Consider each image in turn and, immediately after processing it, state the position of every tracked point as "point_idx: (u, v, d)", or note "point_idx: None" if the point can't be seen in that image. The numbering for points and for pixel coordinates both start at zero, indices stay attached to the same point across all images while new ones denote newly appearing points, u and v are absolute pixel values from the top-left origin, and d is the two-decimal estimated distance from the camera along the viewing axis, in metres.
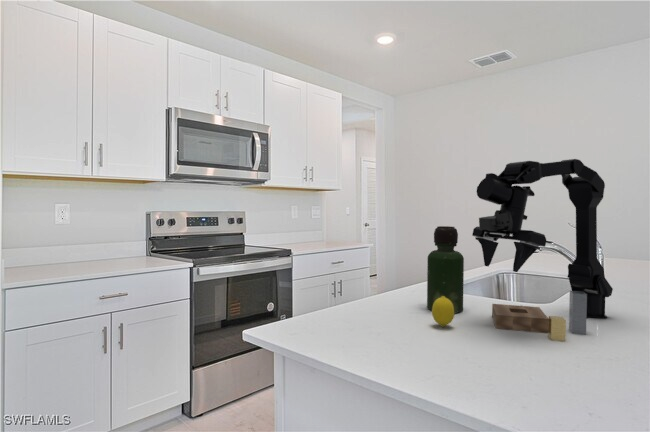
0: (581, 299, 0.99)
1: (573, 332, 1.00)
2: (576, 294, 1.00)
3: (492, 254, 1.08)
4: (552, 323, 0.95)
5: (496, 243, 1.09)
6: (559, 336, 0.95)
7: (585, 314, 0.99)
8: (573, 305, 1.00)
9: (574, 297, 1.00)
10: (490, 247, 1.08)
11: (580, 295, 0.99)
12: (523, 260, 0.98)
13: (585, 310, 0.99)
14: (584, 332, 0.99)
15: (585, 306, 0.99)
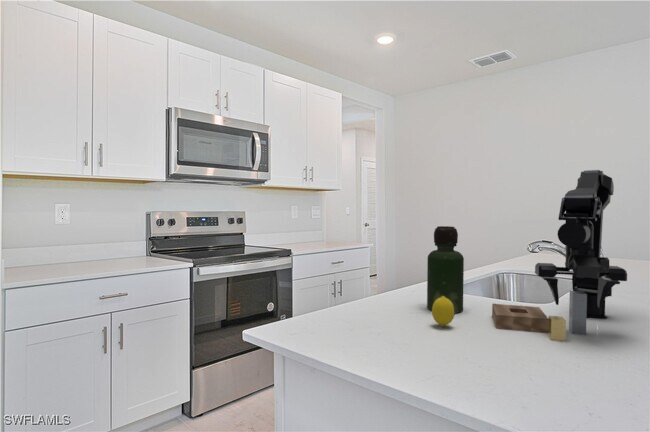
0: (581, 299, 0.99)
1: (573, 332, 1.00)
2: (576, 294, 1.00)
3: None
4: (552, 323, 0.95)
5: None
6: (559, 336, 0.95)
7: (585, 314, 0.99)
8: (573, 305, 1.00)
9: (573, 297, 1.00)
10: None
11: (580, 295, 0.99)
12: None
13: (585, 310, 0.99)
14: (584, 332, 0.99)
15: (585, 306, 0.99)
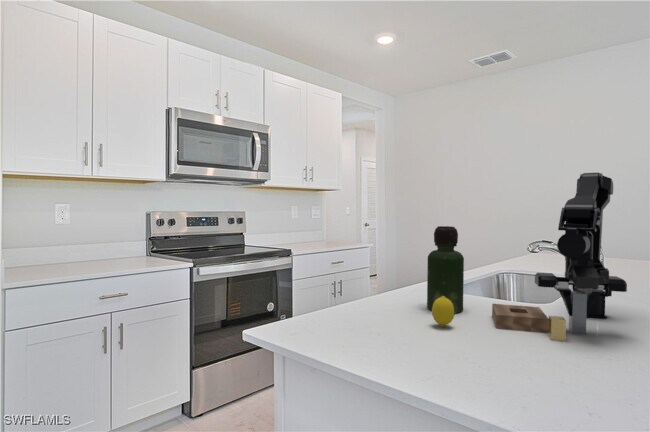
0: (581, 299, 0.99)
1: (573, 332, 1.00)
2: (576, 294, 1.00)
3: None
4: (552, 323, 0.95)
5: None
6: (559, 336, 0.95)
7: (585, 314, 0.99)
8: (573, 305, 1.00)
9: (573, 297, 1.00)
10: None
11: (580, 295, 0.99)
12: None
13: (585, 310, 0.99)
14: (584, 332, 0.99)
15: (585, 306, 0.99)
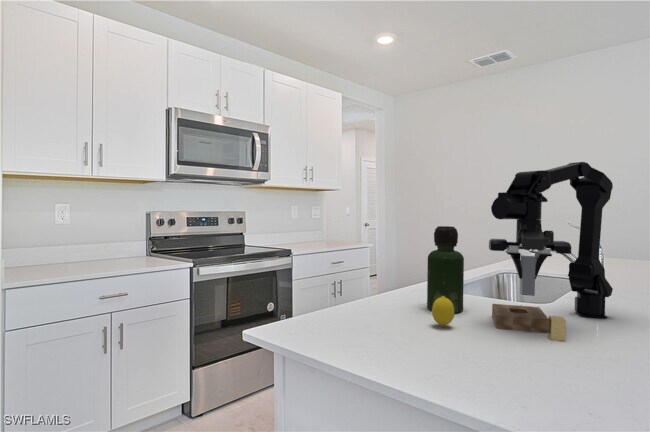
0: (530, 262, 1.04)
1: (523, 294, 1.05)
2: (526, 257, 1.05)
3: None
4: (552, 323, 0.95)
5: None
6: (559, 336, 0.95)
7: (534, 276, 1.04)
8: (523, 268, 1.05)
9: (523, 260, 1.05)
10: None
11: (529, 258, 1.05)
12: None
13: (534, 272, 1.04)
14: (533, 293, 1.04)
15: (534, 268, 1.04)
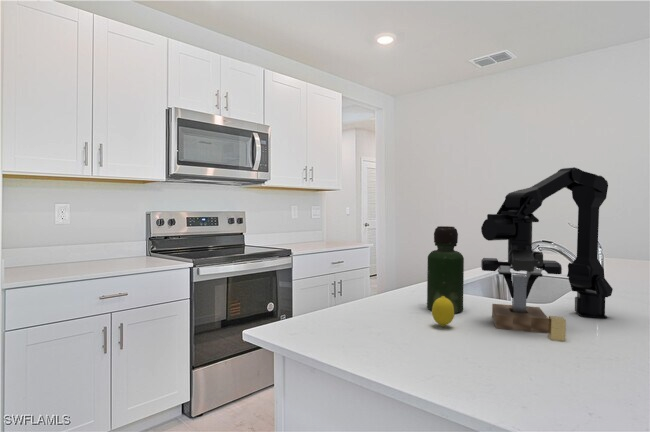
0: (522, 282, 1.06)
1: None
2: (517, 277, 1.06)
3: None
4: (552, 323, 0.95)
5: None
6: (559, 336, 0.95)
7: (525, 296, 1.06)
8: (514, 287, 1.06)
9: (514, 280, 1.06)
10: None
11: (520, 278, 1.06)
12: None
13: (525, 292, 1.06)
14: None
15: (525, 288, 1.06)
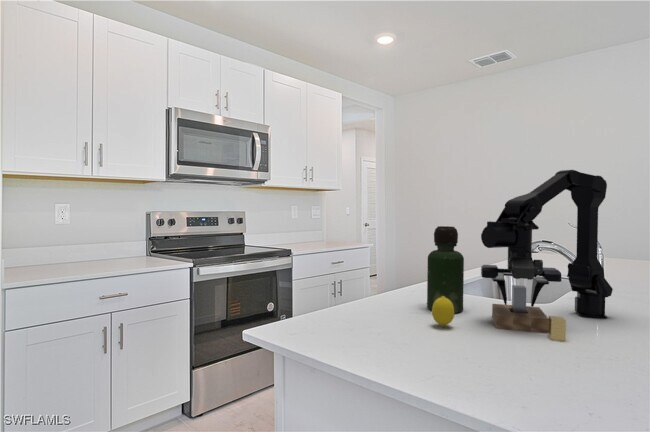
0: (521, 293, 1.06)
1: None
2: (516, 288, 1.06)
3: None
4: (552, 323, 0.95)
5: None
6: (559, 336, 0.95)
7: (525, 307, 1.06)
8: (514, 298, 1.07)
9: (514, 290, 1.06)
10: None
11: (520, 289, 1.06)
12: None
13: (525, 303, 1.06)
14: None
15: (525, 299, 1.06)
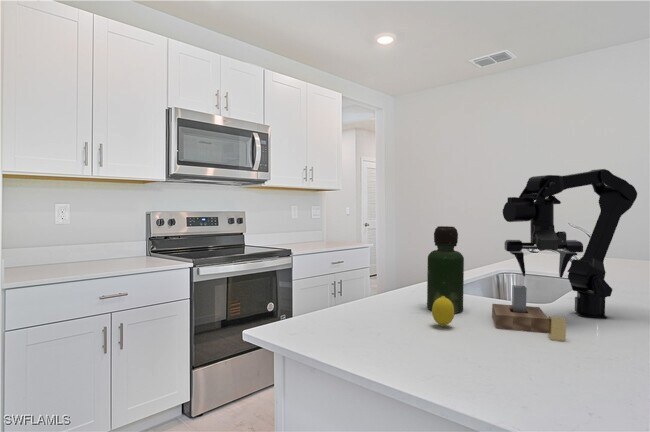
0: (521, 293, 1.06)
1: None
2: (517, 288, 1.06)
3: None
4: (552, 323, 0.95)
5: None
6: (559, 336, 0.95)
7: (525, 307, 1.06)
8: (514, 298, 1.07)
9: (514, 290, 1.06)
10: None
11: (520, 289, 1.06)
12: None
13: (525, 303, 1.06)
14: None
15: (525, 299, 1.06)
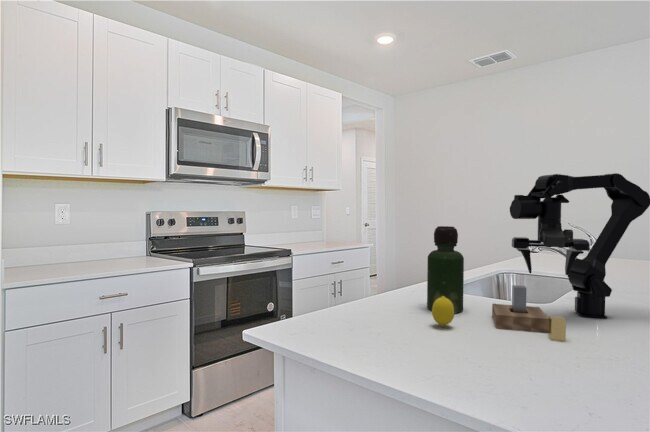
0: (521, 293, 1.06)
1: None
2: (517, 288, 1.06)
3: None
4: (552, 323, 0.95)
5: None
6: (559, 336, 0.95)
7: (525, 307, 1.06)
8: (514, 298, 1.07)
9: (514, 290, 1.06)
10: None
11: (520, 289, 1.06)
12: None
13: (525, 303, 1.06)
14: None
15: (525, 299, 1.06)
